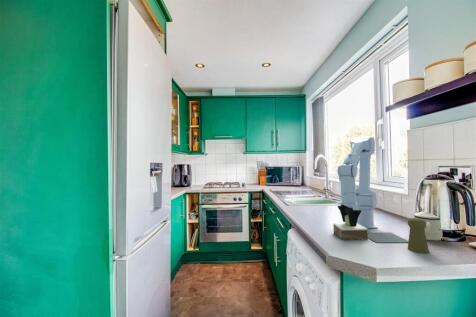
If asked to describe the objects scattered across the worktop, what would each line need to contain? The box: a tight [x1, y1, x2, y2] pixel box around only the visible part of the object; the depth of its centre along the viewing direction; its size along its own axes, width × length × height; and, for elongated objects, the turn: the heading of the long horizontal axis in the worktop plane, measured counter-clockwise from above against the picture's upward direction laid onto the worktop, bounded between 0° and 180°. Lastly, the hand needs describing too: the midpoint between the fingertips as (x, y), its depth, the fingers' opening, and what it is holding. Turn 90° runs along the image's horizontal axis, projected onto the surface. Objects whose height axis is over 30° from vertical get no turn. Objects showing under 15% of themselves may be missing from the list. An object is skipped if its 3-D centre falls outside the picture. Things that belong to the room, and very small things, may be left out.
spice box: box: [332, 224, 369, 241], centre depth 100 cm, size 10×10×4 cm
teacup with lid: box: [413, 210, 443, 242], centre depth 95 cm, size 12×9×12 cm
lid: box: [333, 215, 368, 231], centre depth 100 cm, size 10×10×5 cm
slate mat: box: [367, 232, 409, 244], centre depth 97 cm, size 13×13×1 cm
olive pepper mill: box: [407, 217, 430, 254], centre depth 83 cm, size 6×6×11 cm
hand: (349, 224), depth 100 cm, fingers open, 7 cm apart
